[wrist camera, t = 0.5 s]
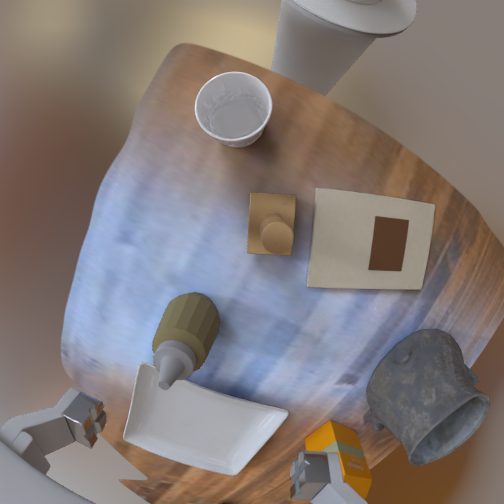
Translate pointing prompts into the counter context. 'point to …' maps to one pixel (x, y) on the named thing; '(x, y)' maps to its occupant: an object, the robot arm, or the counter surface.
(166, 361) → the squeeze bottle
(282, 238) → the scrub brush
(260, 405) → the square plate
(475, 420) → the vessel
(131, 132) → the counter surface
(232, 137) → the white cup
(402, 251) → the cream rectangular board
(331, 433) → the orange juice
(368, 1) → the robot arm
